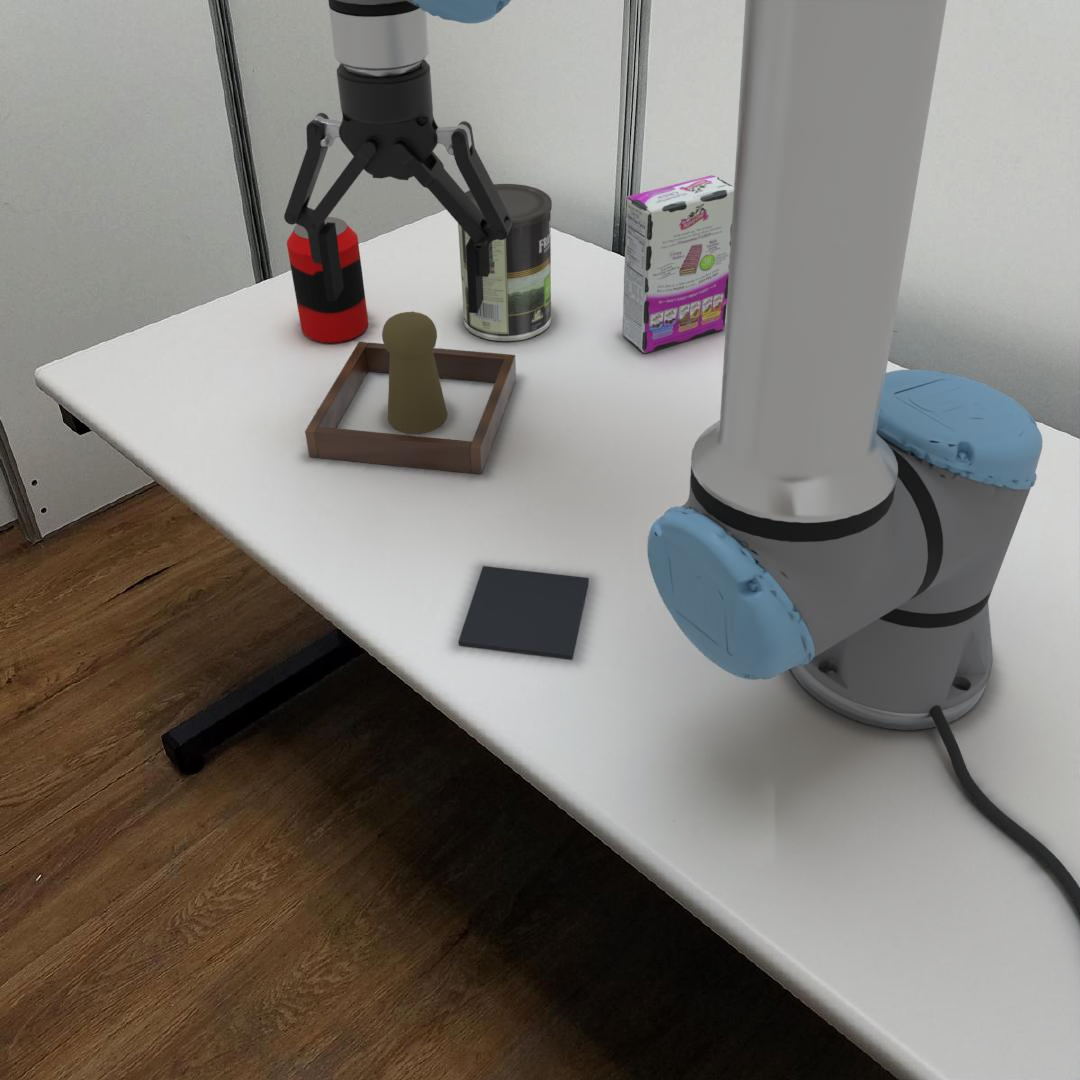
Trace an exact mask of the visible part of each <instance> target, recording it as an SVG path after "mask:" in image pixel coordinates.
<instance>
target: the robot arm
mask: <svg viewBox="0 0 1080 1080" xmlns="http://www.w3.org/2000/svg"><path fill="white" fill-rule="evenodd" d="M327 1H328V9H329V11H328V12H329V19H330V20H329V21H330V28H331V29H330V30H331V37H332V46H333V55H334V59H335V60H336V61H337V62H338V63H339V65H338V67H337V68H336V79H337V86H338V87H337V88H338V95H339V102H340V110H341V114H342V119H341V121H340V120H335V119H330V117H329V116H328V115H327V114H326V113H324V112H319V113H317V114H316V115H315V116H314V117H313V118H312V119H311V120H310V121H309V123H308V124H307V125H306V128H305V129H306V131H305V132H306V150H305V153H304V155H303V156H304V157H303V160H302V161H301V165H300V169H299V171H298V174H297V177H296V180H295V182H294V186H293V188H292V191H291V194H290V197H289V200H288V203H287V206H286V209H285V211H284V215H283V218H284V221H285V222H286V223H287V225H290V226H291V225H292V226H293V225H294V226H295V224H296V225H297V224H298V225H300V226H302V227H304V228H305V229H306V231H307V233H308V238H309V244H310V251H311V257H312V260H313V262H314V263H316V264H322V269H323V276H324V283H325V290H326V296H327V301H335V300H336V299H337V297H338V296H339V294H340V293H341V291H342V290H343V288H344V285H343V278H342V270H341V263H340V256H339V248H338V241H337V233H336V226H335V223H331V222H327V223H326V224H325V219H326V218H327V217H329V215H330V214H331V213H332V212H333V210H334V209H335V208H336V207H337V205H338V204H339V202H340V201H341V200H342V199H343V197H344V196H345V195H346V193H347V192H348V190H349V189H350V188H351V186H352V185H353V184H354V182H355V181H356V180H357V179H358V177H359V176H360V175H361V173H362V172H363V171H365V172H366V173H367V174H369V175H371V176H372V179H385V178H392V179H396V180H399V181H409V179H410V178H413V177H414V178H415V180H416V181H417V182H418V183H419V184H420V185H421V186H422V187H423V188H425V189H428V191H430V192H431V194H432V195H433V196H434V198H436V199H437V201H438V202H439V203H440V204H441V205H442V207H444V209H445V210H446V211H447V213H449V215H450V216H451V217H452V218H453V219H454V220H455V221H456V222H457V225H458V224H459V225H460V226H461V227H462V228H463V229H464V230H465V232H466V233H467V234H468V235H469V236H470V239H469V241H468V243H467V245H466V259H467V279H468V298H469V313H478V311H479V308H480V306H481V304H482V302H483V300H484V298H483V277H488V275H489V273H490V271H491V269H492V266H493V252H492V241H494V240H497V239H498V240H504V239H505V238H506V237H507V235H508V233H509V231H510V228H511V226H512V219H511V217H510V215H509V213H508V211H507V209H506V207H505V205H504V204H503V202H502V200H501V198H500V196H499V194H498V192H497V190H496V188H495V186H494V184H495V183H494V182H493V180H492V178H491V177H490V174H489V172H488V171H487V168H486V167H485V165H484V163H483V161H482V159H481V157H480V155H479V153H478V151H477V149H476V147H475V139H474V135H473V127H472V125H471V123H469V122H468V121H466V120H464V121H461V122H459V123H458V125H457V126H443V127H442V126H440V127H439V126H438V124H437V122H436V120H435V117H434V106H433V104H434V103H433V94H432V93H433V92H432V76H431V75H432V74H431V66H430V64H429V63H428V62H427V60H426V58H427V56H428V55H429V53H430V51H429V36H428V35H429V33H428V20H427V19H428V17H427V13H428V14H429V15H431V16H433V17H439V18H440V19H442V20H445V21H447V20H448V21H454V22H457V23H461V24H468V25H469V24H480V23H483V22H487V21H489V20H492V19H493V18H494V17H495V16H496V15H497V14H499V13H500V12H501V11H502V10H503V9H504V8H505V7H507V6H508V5H509V4H510V3H511V1H512V0H327ZM744 2H745V3H744V17H743V18H744V20H743V32H742V33H743V35H742V36H743V37H742V51H741V67H740V68H741V69H740V85H739V100H738V116H737V136H736V150H735V164H734V166H735V168H734V180H733V181H734V182H733V183H734V184H733V187H734V198H733V214H732V231H731V247H730V264H729V280H728V297H727V308H726V319H725V330H724V332H725V333H724V345H723V346H724V348H723V349H724V350H723V362H722V363H723V365H722V379H721V380H722V382H721V396H720V397H721V399H720V414H719V420H718V421H716V422H715V423H713V424H711V425H710V426H709V427H708V428H706V429H705V430H704V431H703V432H702V433H701V434H700V435H699V436H698V438H697V439H696V441H695V443H694V445H693V447H692V449H691V457H690V475H689V476H690V477H689V495H688V498H687V501H685V503H684V504H683V505H680V506H673V507H670V508H668V509H667V510H666V511H665V512H664V513H663V515H661V516H660V517H659V518H657V519H656V520H655V521H654V522H653V523H652V525H651V527H650V529H649V532H648V536H647V544H646V545H647V546H646V547H647V549H646V550H647V559H648V565H649V569H650V573H651V576H652V579H653V582H654V585H655V587H656V590H657V592H658V594H659V596H660V599H661V600H662V602H663V604H664V605H665V607H666V609H667V610H668V613H669V614H670V615H671V617H672V619H673V621H674V622H675V623H676V625H677V626H678V628H679V630H681V632H682V633H683V634H684V636H685V637H686V638H687V639H688V640H689V642H690V644H692V645H693V646H694V647H695V648H696V649H697V650H698V652H700V653H701V654H702V655H703V656H704V657H706V658H707V659H708V660H709V661H710V662H712V663H713V664H714V665H716V666H717V667H718V668H720V669H722V670H723V671H725V672H727V673H729V674H731V675H733V676H735V677H738V678H741V679H745V680H751V681H757V680H769V679H772V678H774V677H777V676H779V675H780V674H783V673H784V672H788V671H789V670H790V671H791V673H792V675H793V676H794V677H795V679H796V680H797V682H798V683H799V684H800V685H801V686H802V687H803V688H804V690H806V691H807V692H808V693H809V694H810V695H811V696H812V697H813V698H815V699H816V700H817V701H819V702H820V703H821V704H823V705H824V706H826V707H827V708H829V709H831V710H833V711H834V712H837V713H838V714H841V715H842V716H844V717H846V718H848V719H851V720H854V721H857V722H859V723H863V724H866V725H870V726H872V727H873V726H875V727H878V728H884V729H891V730H903V731H904V730H905V731H913V730H925V729H931V728H936V730H937V732H938V733H939V736H940V738H941V741H942V742H943V745H944V747H945V749H946V751H947V754H948V756H949V759H950V762H951V765H952V768H953V771H954V772H955V775H956V777H957V779H958V781H959V783H960V784H961V786H962V788H963V789H964V790H965V792H966V793H967V795H968V796H969V797H970V798H971V800H972V801H973V802H974V803H975V804H976V805H977V807H978V808H979V809H981V811H982V812H983V813H984V814H985V815H986V816H987V817H988V818H990V819H991V820H992V821H993V822H994V823H995V824H997V825H998V826H999V827H1000V828H1001V829H1003V830H1004V831H1005V832H1006V833H1008V834H1009V835H1010V836H1011V837H1012V838H1014V839H1015V840H1017V841H1018V842H1019V843H1020V844H1021V845H1022V846H1024V847H1025V848H1027V849H1028V850H1029V851H1030V852H1031V853H1032V854H1033V855H1035V857H1037V858H1038V859H1039V860H1040V861H1041V862H1042V863H1043V864H1044V865H1045V867H1046V868H1048V870H1050V872H1051V873H1052V874H1053V875H1054V877H1055V878H1056V879H1057V880H1058V882H1059V883H1060V885H1061V886H1062V888H1063V889H1064V891H1066V892H1065V893H1067V895H1068V896H1069V898H1070V899H1071V901H1072V903H1073V905H1074V907H1075V909H1076V910H1077V912H1078V915H1080V885H1079V884H1078V882H1077V881H1076V880H1075V878H1074V877H1073V876H1072V874H1071V873H1070V872H1069V870H1068V869H1067V868H1066V866H1065V865H1064V864H1063V863H1062V862H1061V861H1060V860H1059V858H1057V856H1056V855H1055V854H1054V853H1053V852H1051V850H1050V849H1049V848H1047V847H1046V846H1045V845H1044V844H1043V843H1042V842H1041V841H1040V840H1038V839H1037V838H1036V837H1035V836H1033V834H1031V833H1030V832H1028V831H1027V830H1026V829H1024V827H1022V826H1021V825H1019V824H1018V823H1017V822H1016V821H1015V820H1013V819H1012V818H1010V817H1009V816H1008V815H1007V814H1006V813H1004V812H1003V811H1002V810H1001V809H1000V808H999V807H998V806H997V805H996V804H995V803H993V802H992V800H990V799H989V798H988V796H987V795H986V794H985V793H984V792H983V791H982V790H981V789H980V787H979V785H978V784H977V783H976V782H975V779H973V777H972V775H971V774H970V772H969V770H968V768H967V767H968V766H967V765H966V762H965V760H964V756H963V754H962V752H961V749H960V747H959V744H958V742H957V740H956V738H955V736H954V733H953V732H952V731H953V730H952V729H951V727H950V725H949V723H951V722H954V721H955V720H958V719H959V718H961V717H963V716H964V715H966V714H967V713H968V712H970V711H971V710H972V709H973V708H974V707H975V706H976V705H977V703H978V702H979V701H980V699H981V697H982V695H983V694H984V692H985V689H986V687H987V683H988V680H989V678H990V676H991V673H992V668H993V662H994V661H993V660H994V659H993V641H992V632H991V617H990V606H989V600H990V597H991V595H992V591H993V589H994V586H995V584H996V581H997V579H998V576H999V573H1000V571H1001V568H1002V566H1003V562H1004V561H1005V558H1006V555H1007V551H1008V549H1009V547H1010V544H1011V542H1012V539H1013V536H1014V533H1015V531H1016V528H1017V525H1018V523H1019V521H1020V517H1021V515H1022V512H1023V509H1024V507H1025V505H1026V501H1027V499H1028V496H1029V494H1030V491H1031V489H1032V488H1033V487H1034V486H1035V485H1036V481H1037V472H1036V471H1037V468H1038V464H1039V461H1040V458H1041V454H1042V451H1043V435H1042V433H1041V431H1040V429H1039V428H1038V424H1037V422H1036V420H1035V419H1034V417H1033V416H1032V415H1031V413H1030V412H1029V411H1028V410H1027V409H1026V408H1025V407H1023V406H1022V404H1019V402H1017V401H1016V400H1015V399H1013V398H1011V397H1010V396H1008V395H1007V394H1005V393H1003V392H1002V391H1000V390H997V389H996V388H994V387H992V386H990V385H987V384H985V383H983V382H979V381H977V380H973V379H971V378H968V377H965V376H961V375H956V374H952V373H947V372H942V371H937V370H930V369H917V368H916V369H897V370H891V371H888V372H887V368H888V362H889V356H890V350H891V344H892V338H893V332H894V324H895V319H896V314H897V307H898V301H899V295H900V289H901V283H902V277H903V271H904V265H905V258H906V252H907V247H908V239H909V235H910V234H909V233H910V227H911V222H912V216H913V211H914V203H915V198H916V193H917V192H916V191H917V186H918V181H919V174H920V167H921V161H922V155H923V148H924V143H925V137H926V131H927V123H928V117H929V112H930V106H931V100H932V94H933V87H934V82H935V75H936V69H937V64H938V58H939V57H938V56H939V52H940V45H941V39H942V33H943V27H944V21H945V15H946V9H947V2H948V0H745V1H744ZM337 138H339V139H340V141H341V143H343V145H344V146H345V147H346V148H347V150H348V151H349V152H350V154H351V155H352V156H353V157H352V158H351V160H350V161H349V162H348V164H347V165H346V166H345V168H344V169H343V170H342V172H341V173H340V174H339V176H338V177H337V179H336V180H335V181H334V182H333V184H332V186H331V187H330V188H329V189H328V191H327V192H326V193H325V195H324V196H323V198H321V200H320V201H319V203H318V204H317V206H316V207H315V209H313V208H311V207H308V205H309V203H310V200H311V197H312V194H313V191H314V189H315V187H316V183H317V181H318V177H319V175H320V172H321V170H322V167H323V164H324V161H325V158H326V155H327V153H328V149H329V148H330V147H331V146H333V144H334V143H335V142H336V139H337ZM438 144H441V145H443V146H444V148H445V150H446V152H447V153H448V155H451V156H453V158H454V160H455V164H456V166H457V168H458V171H459V173H460V174H461V176H462V178H463V180H464V182H465V183H466V185H467V187H468V189H469V190H470V191H471V193H472V195H473V197H474V199H475V201H476V202H477V204H478V206H479V208H480V210H481V211H480V210H479V209H478V208H477V207H476V205H475V204H474V203H473V202H472V201H471V200H470V198H469V197H468V196H467V195H466V194H465V191H464V190H463V189H462V188H461V187H460V185H459V184H458V183H457V182H456V181H455V179H453V177H452V176H451V175H450V174H449V173H448V171H447V170H446V169H445V166H444V163H443V161H442V160H441V159H440V158H439V157H438V156H437V155H436V154H435V152H434V150H435V149H436V147H437V145H438ZM481 212H482V213H481Z"/></svg>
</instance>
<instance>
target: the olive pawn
mask: <svg viewBox="0 0 1080 1080" xmlns="http://www.w3.org/2000/svg"><path fill="white" fill-rule="evenodd" d="M381 338H382V342H383V344H384V345H385V347H386V350H387V351H388V352H389V353H390V365H389V373H388V393H387V394H388V395H387V396H388V397H387V398H388V399H387V400H388V401H387V421H388V425H389V426H391V427H392V428H393V429H395V430H396V431H399V432H400V433H401V432H402V433H407V434H423V433H427V432H428V433H429V432H431V431H434V430H436V429H438V428H440V427H441V426H443V425H444V423H445V422H446V421H447V419H448V410H447V406H446V401H445V397H444V393H443V389H442V385H441V379H440V377H439V375H438V371H437V367H436V362H435V358H434V354H433V348H436V345H437V339H438V330H437V328H436V325H435V323H434V321H433V320H432V319H431V317H429V316H428V315H426V314H424V313H421V312H418V311H417V312H416V311H405V312H399V313H397V314H393V315H392V316H391V317H389V318H388V319H387V320H386V321H385V323H384V325H383V327H382V332H381Z"/></svg>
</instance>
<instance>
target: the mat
mask: <svg viewBox="0 0 1080 1080" xmlns="http://www.w3.org/2000/svg"><path fill="white" fill-rule="evenodd" d="M588 585H589V577H584V576H575V575H568V574H557V573H551V572H550V573H549V572H541V571H540V572H539V571H531V570H524V569H523V570H522V569H513V568H505V567H498V566H497V567H495V566H486V565H483V566H482V568H481V571H480V574H479V577H478V579H477V582H476V587H475V589H474V592H473V596H472V598H471V601H470V605H469V608H468V610H467V614H466V617H465V620H464V623H463V626H462V629H461V632H460V636H459V639H458V646H465V647H472V648H481V649H489V650H496V651H505V652H513V653H520V654H529V655H537V656H545V657H551V658H552V657H554V658H563V659H569V660H573V657H574V654H575V648H576V643H577V638H578V634H579V628H580V623H581V619H582V615H583V609H584V606H585V599H586V595H587V590H588V587H589V586H588Z"/></svg>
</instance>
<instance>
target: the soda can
mask: <svg viewBox="0 0 1080 1080" xmlns="http://www.w3.org/2000/svg"><path fill="white" fill-rule="evenodd" d="M327 222H331V223H335V226H336V233H337V241H338V248H339V256H340V263H341V270H342V278H343V285H344V288H343V290H342V291H341V293H340V294H339V296H338V297H337V299H336V300H335V301H327V296H326V290H325V283H324V276H323V269H322V264H316V263H314V262H313V260H312V257H311V251H310V244H309V238H308V233H307V231H306V229H305V228H304V227H302V226H300V225H298V224H296V225H294V227H293V230H292V231H291V234H290V235H289V237H288V238H287V240H286V247H287V254H288V259H289V264H290V265H289V266H290V272H291V277H292V282H293V288H294V294H295V299H296V306H297V312H298V317H299V323H300V328H301V331H302V333H303V334H304V335H305V336H306V337H307V338H308V339H310V340H313V341H315V342H318V343H323V344H324V343H325V344H338V343H344V342H348V341H351V340H354V339H356V338H357V337H359V336H360V335H362V334H363V333H364V332H365V330H366V329H367V327H368V326H369V316H368V307H367V301H366V293H365V285H364V277H363V267H362V261H361V260H362V259H361V253H360V245H359V238H358V236H359V235H358V234H357V233H356V232H355V231H354V230H353V229H352V228H351V227H350V226H349V225H348V224H347V222H346V221H345V220H343V219H341V218H338V217H334V216H328V217H327V218H326V219H325V224H326V223H327Z"/></svg>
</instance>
